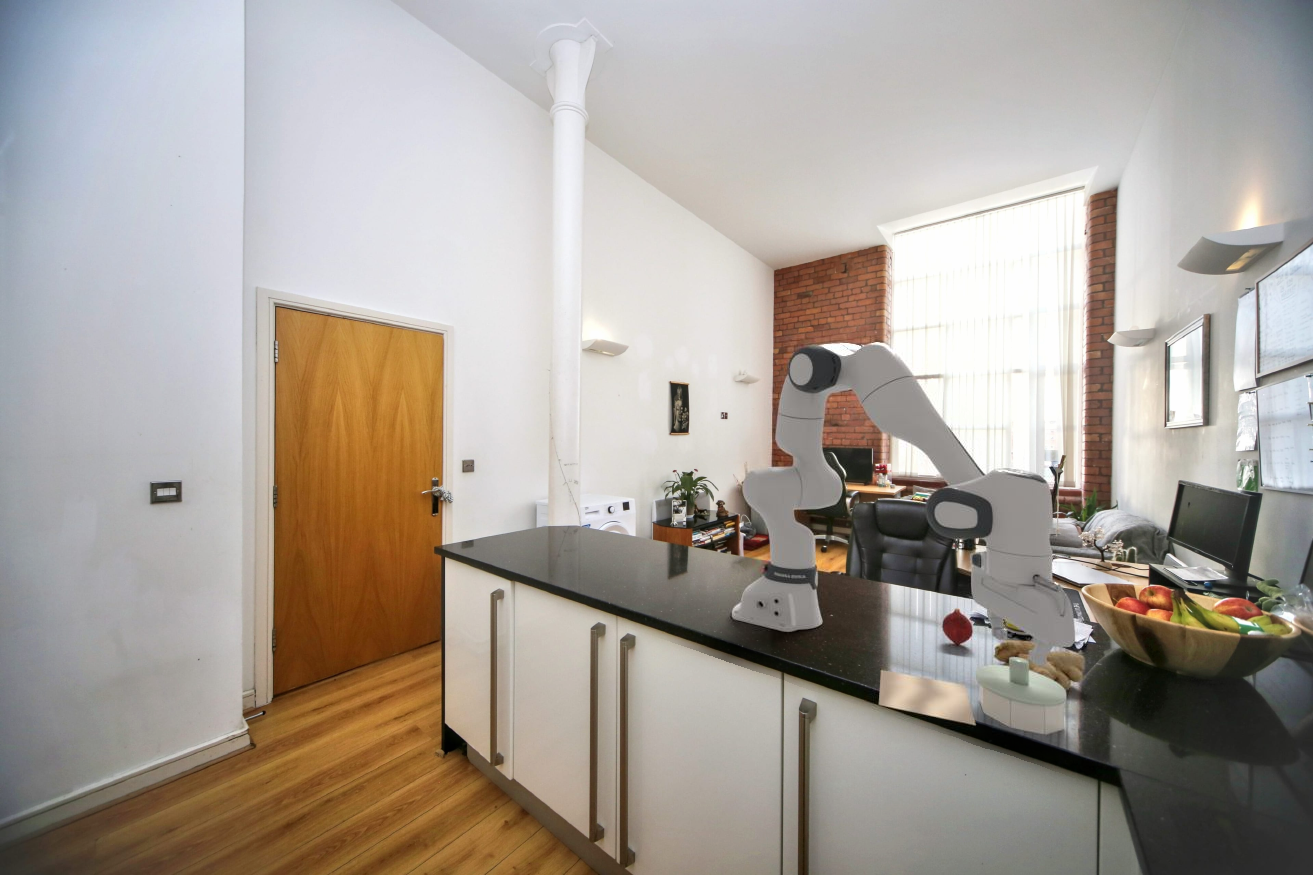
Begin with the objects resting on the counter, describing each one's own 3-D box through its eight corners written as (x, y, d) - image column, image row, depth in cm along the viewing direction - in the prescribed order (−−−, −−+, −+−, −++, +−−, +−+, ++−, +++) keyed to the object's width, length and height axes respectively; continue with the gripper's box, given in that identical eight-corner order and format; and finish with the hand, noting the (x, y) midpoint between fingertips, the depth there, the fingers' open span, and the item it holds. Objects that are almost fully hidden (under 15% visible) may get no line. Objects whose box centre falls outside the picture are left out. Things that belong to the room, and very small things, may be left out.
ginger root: (1040, 652, 103) (1046, 618, 101) (1106, 711, 87) (1114, 673, 85) (964, 654, 103) (968, 620, 101) (1016, 713, 88) (1021, 675, 86)
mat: (878, 707, 84) (878, 704, 84) (881, 672, 97) (881, 669, 97) (975, 728, 78) (975, 724, 78) (964, 688, 90) (964, 685, 90)
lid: (991, 699, 77) (991, 672, 77) (965, 665, 89) (965, 642, 89) (1083, 710, 74) (1082, 682, 74) (1043, 674, 85) (1043, 649, 85)
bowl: (986, 725, 79) (986, 694, 79) (976, 694, 88) (976, 666, 88) (1070, 743, 74) (1070, 710, 74) (1050, 708, 84) (1050, 679, 84)
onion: (977, 651, 106) (977, 614, 106) (948, 648, 108) (948, 612, 108) (966, 640, 112) (966, 605, 112) (938, 638, 113) (938, 603, 113)
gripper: (1089, 587, 71) (1088, 682, 71) (999, 552, 91) (998, 626, 92) (1043, 586, 71) (1042, 681, 71) (964, 551, 92) (963, 625, 92)
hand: (1017, 650), depth 82 cm, fingers open, 8 cm apart
